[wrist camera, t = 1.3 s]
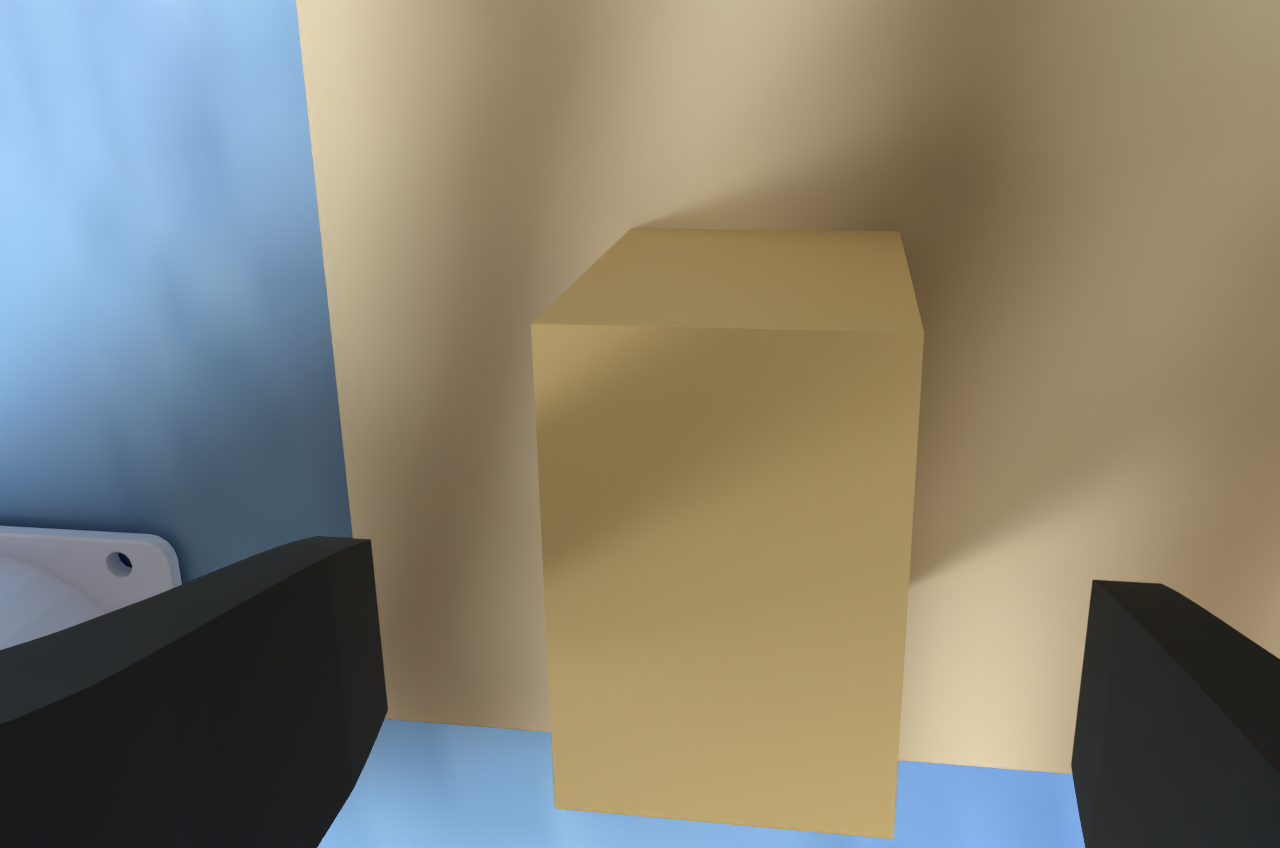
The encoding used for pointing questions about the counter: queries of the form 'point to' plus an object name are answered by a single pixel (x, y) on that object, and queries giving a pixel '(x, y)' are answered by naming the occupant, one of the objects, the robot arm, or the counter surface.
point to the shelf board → (842, 201)
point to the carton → (730, 525)
